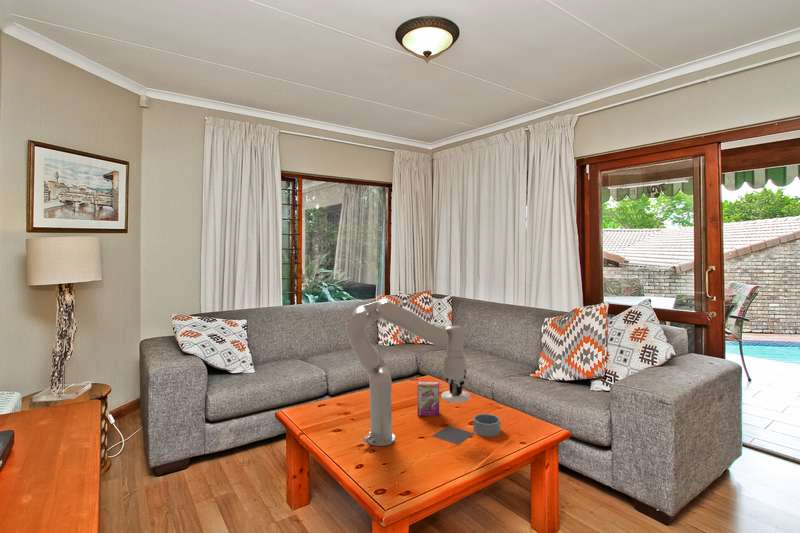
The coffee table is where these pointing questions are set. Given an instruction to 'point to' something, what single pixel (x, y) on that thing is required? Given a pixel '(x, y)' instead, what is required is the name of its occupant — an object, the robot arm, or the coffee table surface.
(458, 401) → the lid
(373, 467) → the coffee table surface
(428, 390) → the candy bar box
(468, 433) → the mat
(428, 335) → the robot arm
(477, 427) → the pot
